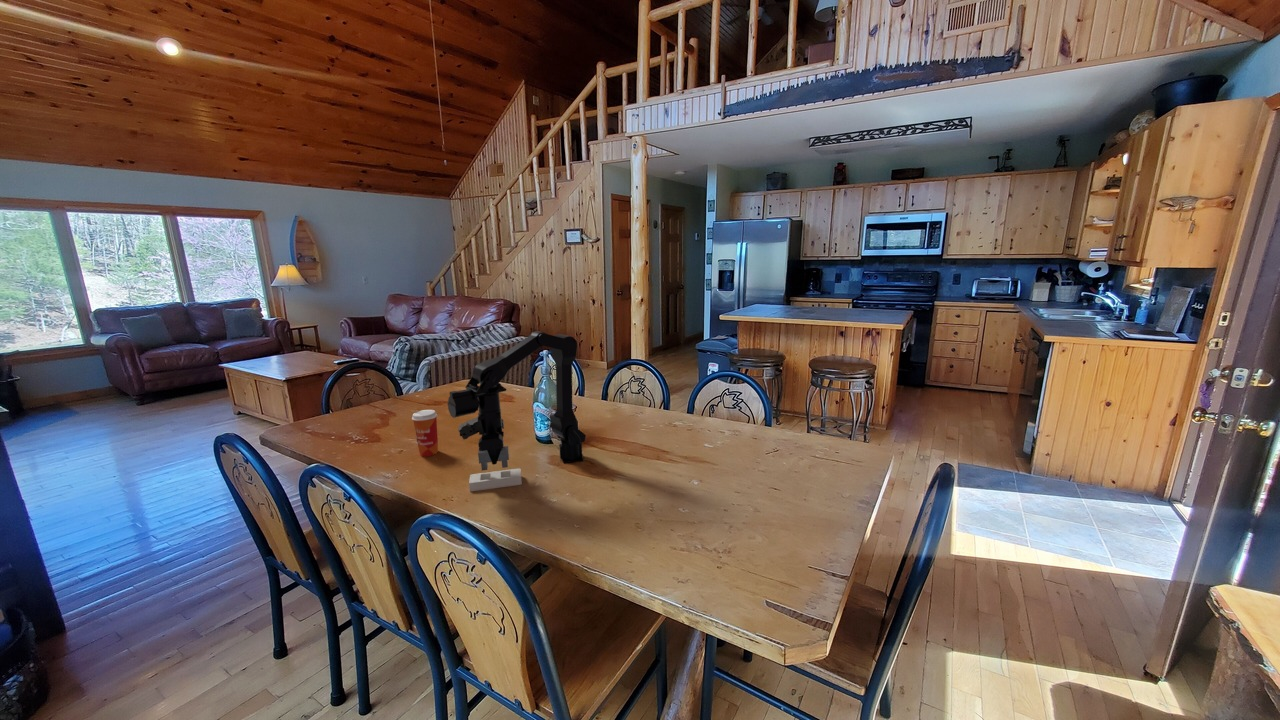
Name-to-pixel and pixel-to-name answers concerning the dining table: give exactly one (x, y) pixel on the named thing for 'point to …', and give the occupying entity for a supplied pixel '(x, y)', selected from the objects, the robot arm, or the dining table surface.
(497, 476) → the rail
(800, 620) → the dining table surface
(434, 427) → the paper cup
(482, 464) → the dark grey blocky piece
